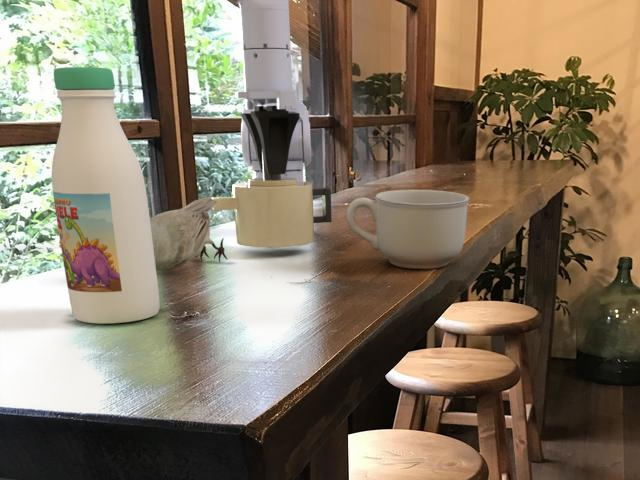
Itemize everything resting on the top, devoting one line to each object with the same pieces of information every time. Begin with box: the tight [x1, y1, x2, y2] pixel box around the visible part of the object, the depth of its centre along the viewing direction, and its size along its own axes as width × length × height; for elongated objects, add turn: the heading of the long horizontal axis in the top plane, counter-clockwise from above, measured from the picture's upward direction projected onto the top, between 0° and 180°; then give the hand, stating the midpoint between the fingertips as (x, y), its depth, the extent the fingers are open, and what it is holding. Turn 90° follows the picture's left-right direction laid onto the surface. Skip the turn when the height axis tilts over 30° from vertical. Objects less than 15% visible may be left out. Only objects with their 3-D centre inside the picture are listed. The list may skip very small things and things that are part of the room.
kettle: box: [210, 149, 333, 248], centre depth 102 cm, size 16×10×11 cm, turn 115°
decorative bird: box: [150, 196, 228, 272], centre depth 91 cm, size 5×16×8 cm, turn 152°
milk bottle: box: [51, 66, 161, 324], centre depth 69 cm, size 8×8×20 cm
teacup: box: [346, 189, 470, 270], centre depth 94 cm, size 14×11×8 cm
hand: (273, 173), depth 101 cm, fingers closed on kettle, 2 cm apart
